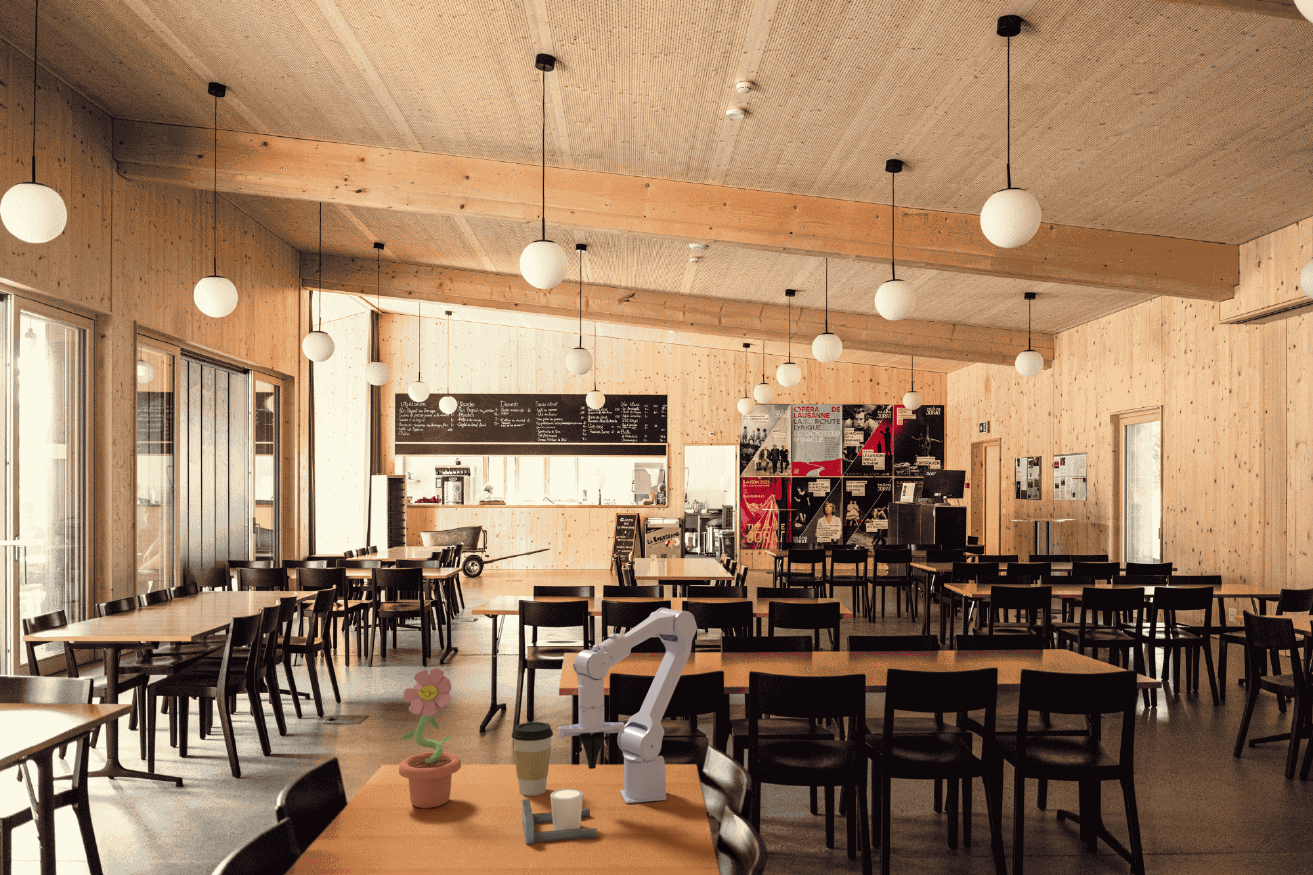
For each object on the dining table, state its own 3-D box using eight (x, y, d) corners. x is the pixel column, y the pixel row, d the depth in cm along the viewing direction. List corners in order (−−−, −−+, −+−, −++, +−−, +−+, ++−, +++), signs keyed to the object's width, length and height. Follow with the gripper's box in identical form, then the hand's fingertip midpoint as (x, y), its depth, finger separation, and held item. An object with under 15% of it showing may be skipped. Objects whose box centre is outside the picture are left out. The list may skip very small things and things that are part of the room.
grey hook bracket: (589, 814, 193) (589, 793, 194) (598, 838, 180) (598, 816, 180) (522, 820, 190) (522, 798, 191) (526, 845, 177) (526, 822, 177)
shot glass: (567, 836, 181) (567, 801, 182) (543, 828, 186) (543, 794, 186) (589, 826, 187) (589, 792, 187) (566, 818, 191) (566, 785, 191)
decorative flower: (383, 812, 196) (384, 675, 198) (410, 791, 210) (410, 663, 211) (446, 815, 194) (447, 677, 196) (469, 793, 207) (469, 664, 209)
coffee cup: (557, 784, 213) (557, 721, 214) (548, 798, 203) (548, 732, 204) (517, 783, 214) (517, 721, 215) (506, 797, 204) (506, 732, 205)
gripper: (620, 699, 202) (620, 759, 202) (557, 703, 199) (557, 764, 199) (625, 706, 195) (626, 768, 195) (560, 710, 192) (560, 774, 192)
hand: (591, 767), depth 196 cm, fingers closed
